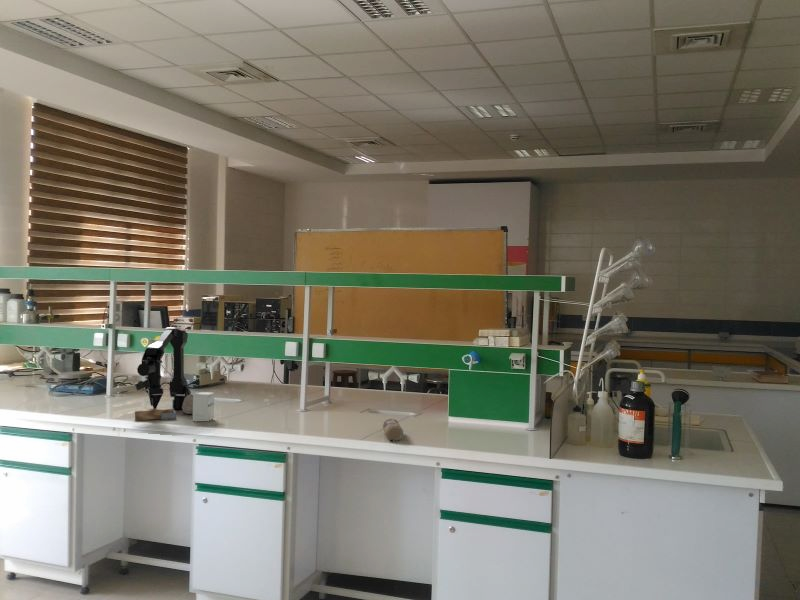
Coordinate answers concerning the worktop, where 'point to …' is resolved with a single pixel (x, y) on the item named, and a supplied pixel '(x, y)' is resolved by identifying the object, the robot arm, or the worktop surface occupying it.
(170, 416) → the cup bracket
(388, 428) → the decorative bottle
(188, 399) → the pumice stone
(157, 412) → the walnut rail
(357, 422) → the worktop surface
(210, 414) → the supplement box
